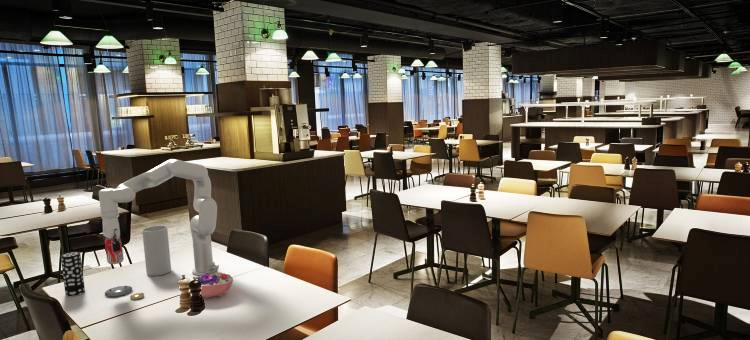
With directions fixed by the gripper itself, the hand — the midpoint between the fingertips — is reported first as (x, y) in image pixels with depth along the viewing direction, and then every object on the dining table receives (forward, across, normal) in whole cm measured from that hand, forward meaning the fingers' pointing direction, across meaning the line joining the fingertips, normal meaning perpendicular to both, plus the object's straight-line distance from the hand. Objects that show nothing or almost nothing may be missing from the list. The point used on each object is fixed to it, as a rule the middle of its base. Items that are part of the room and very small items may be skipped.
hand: (114, 249), depth 235 cm
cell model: (+23, +41, +28) cm, 55 cm away
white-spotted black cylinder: (+22, -17, -15) cm, 32 cm away
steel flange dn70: (+22, 0, 0) cm, 22 cm away
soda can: (+7, 0, 0) cm, 7 cm away
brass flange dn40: (+22, +14, +3) cm, 27 cm away
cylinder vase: (+23, -14, +26) cm, 37 cm away
